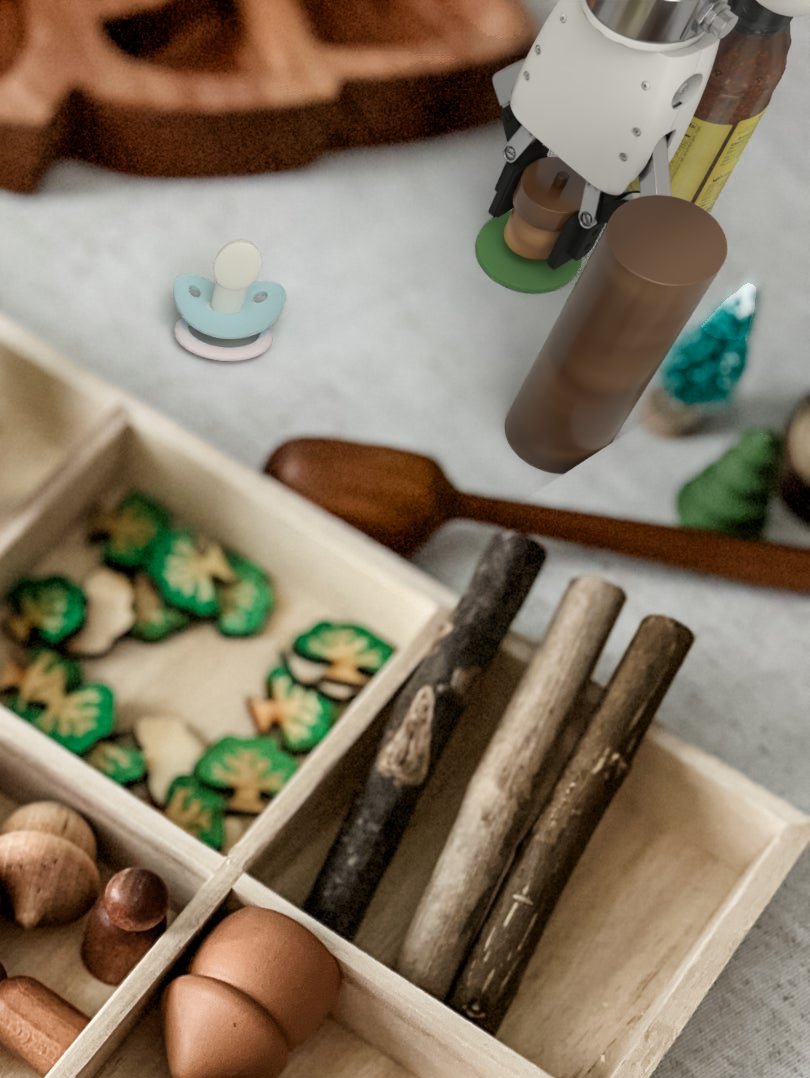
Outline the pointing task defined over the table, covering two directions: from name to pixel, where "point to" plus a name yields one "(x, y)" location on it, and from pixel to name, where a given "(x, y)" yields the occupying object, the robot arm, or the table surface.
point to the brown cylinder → (615, 330)
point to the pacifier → (228, 304)
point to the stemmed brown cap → (542, 207)
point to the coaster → (518, 262)
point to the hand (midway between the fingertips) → (537, 230)
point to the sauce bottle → (730, 103)
